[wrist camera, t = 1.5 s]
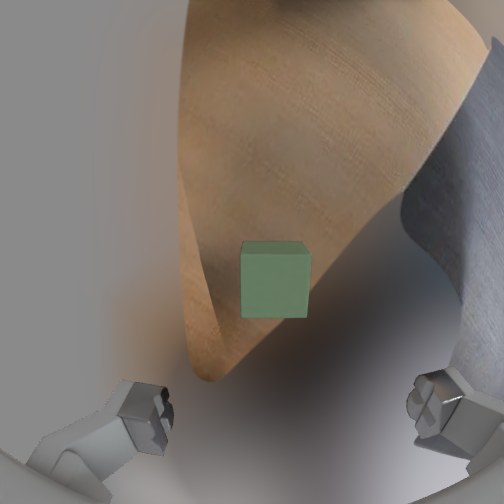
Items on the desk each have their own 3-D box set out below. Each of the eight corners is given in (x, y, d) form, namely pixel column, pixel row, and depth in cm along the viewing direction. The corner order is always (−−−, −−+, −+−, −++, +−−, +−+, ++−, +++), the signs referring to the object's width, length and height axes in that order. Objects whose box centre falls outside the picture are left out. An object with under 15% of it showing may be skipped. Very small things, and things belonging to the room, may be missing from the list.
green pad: (242, 240, 18) (239, 254, 15) (303, 241, 18) (311, 254, 15) (243, 296, 20) (240, 318, 16) (299, 296, 19) (306, 318, 16)
